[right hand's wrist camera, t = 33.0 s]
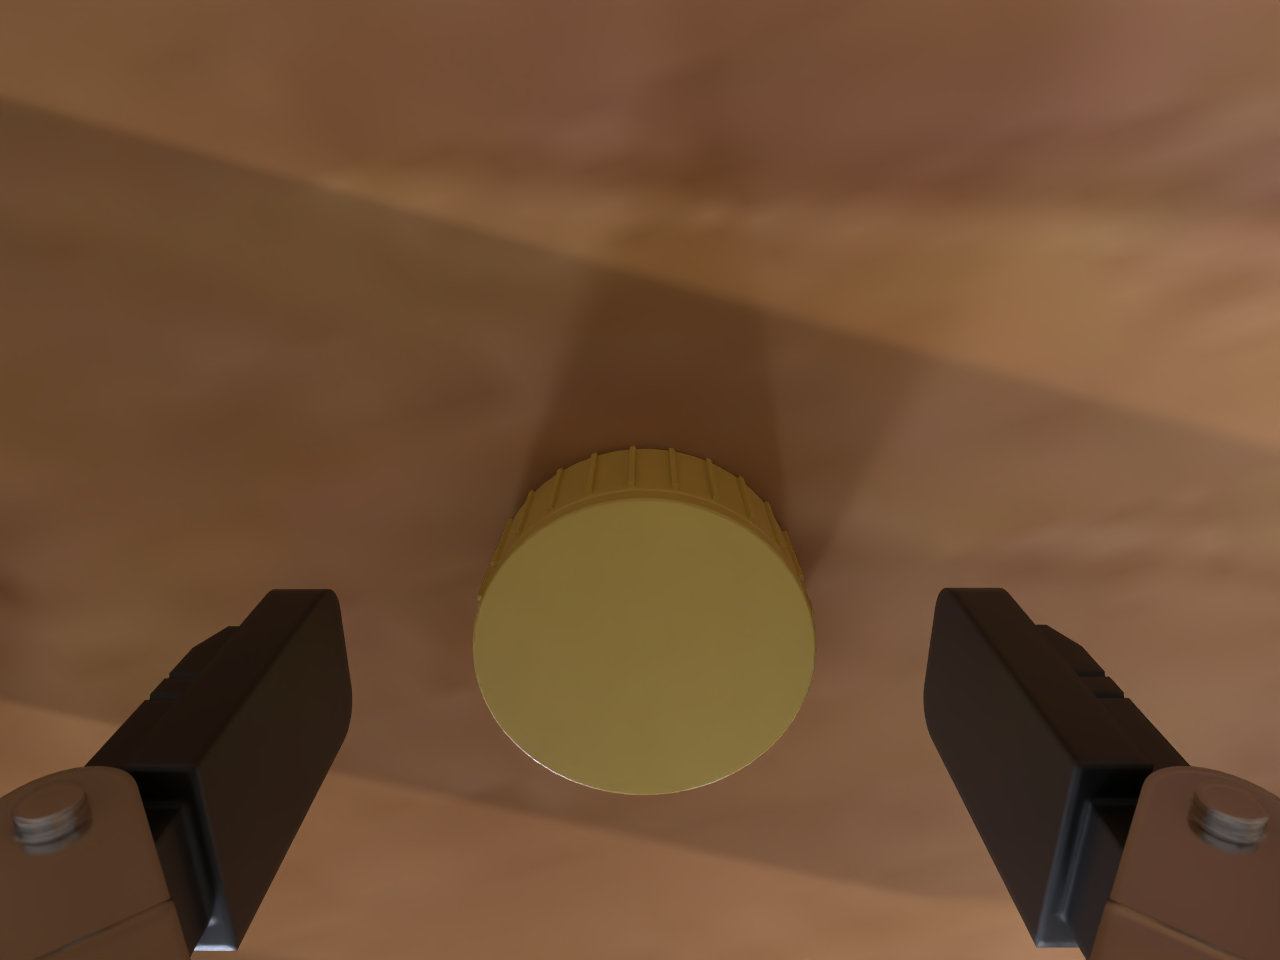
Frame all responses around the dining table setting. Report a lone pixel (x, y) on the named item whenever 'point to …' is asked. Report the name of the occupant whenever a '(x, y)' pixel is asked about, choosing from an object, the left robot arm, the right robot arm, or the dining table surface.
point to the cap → (644, 624)
